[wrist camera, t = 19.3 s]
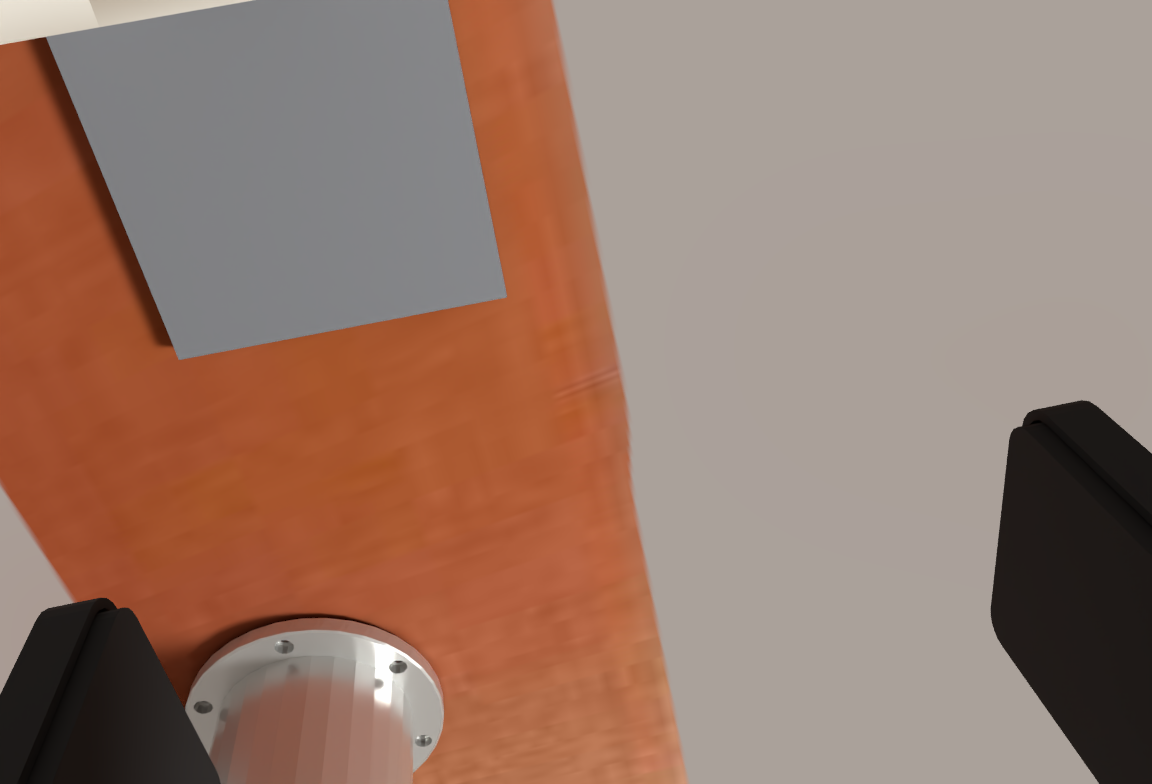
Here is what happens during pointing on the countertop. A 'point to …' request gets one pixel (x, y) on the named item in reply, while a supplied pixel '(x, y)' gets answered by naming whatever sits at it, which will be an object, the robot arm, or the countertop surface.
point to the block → (85, 14)
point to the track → (289, 164)
